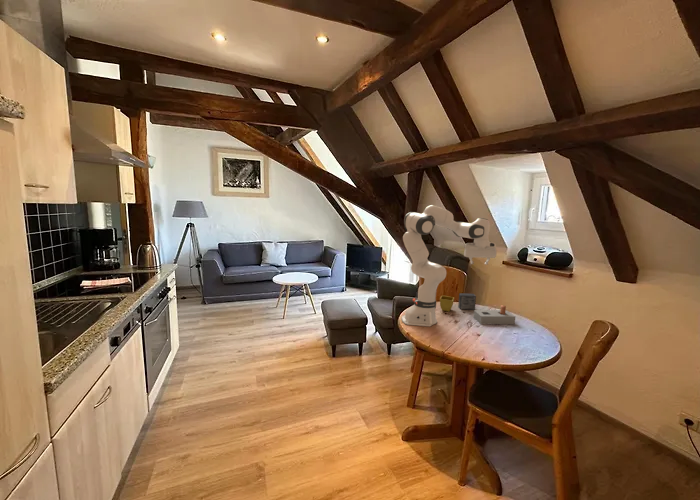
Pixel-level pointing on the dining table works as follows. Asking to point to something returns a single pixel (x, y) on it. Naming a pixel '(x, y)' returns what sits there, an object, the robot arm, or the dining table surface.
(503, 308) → the peg
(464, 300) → the small box
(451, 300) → the flower pot
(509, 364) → the dining table surface
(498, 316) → the hole block
